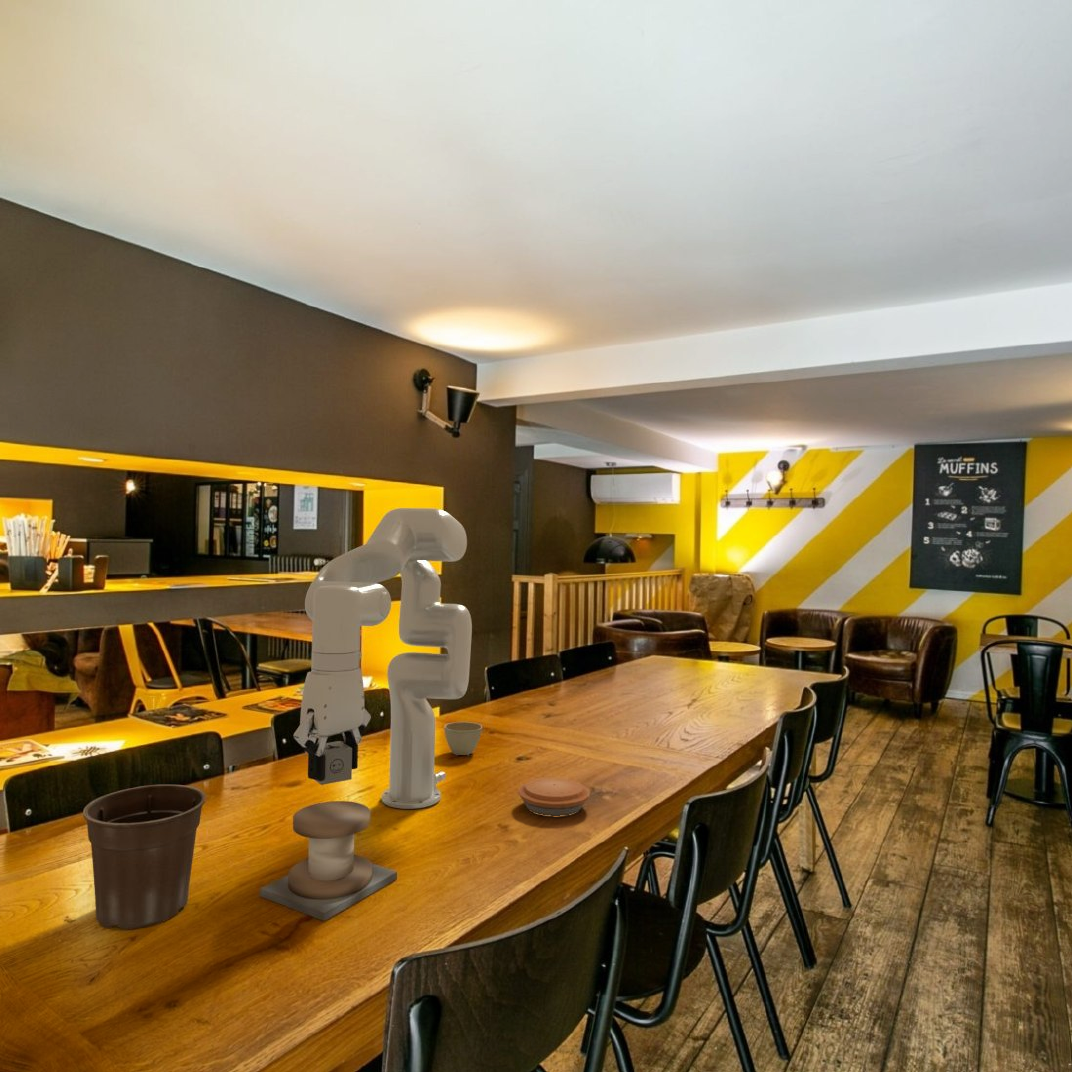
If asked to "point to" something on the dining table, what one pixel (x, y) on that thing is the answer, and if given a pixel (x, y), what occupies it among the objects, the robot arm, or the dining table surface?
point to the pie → (553, 795)
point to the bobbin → (329, 863)
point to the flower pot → (462, 737)
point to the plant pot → (142, 852)
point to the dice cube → (337, 762)
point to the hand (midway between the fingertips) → (333, 772)
